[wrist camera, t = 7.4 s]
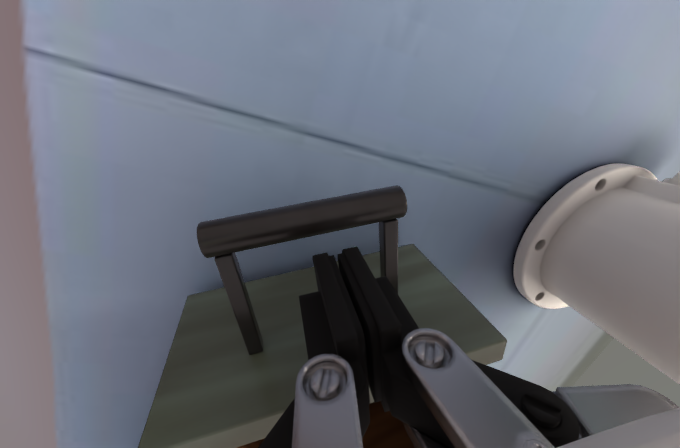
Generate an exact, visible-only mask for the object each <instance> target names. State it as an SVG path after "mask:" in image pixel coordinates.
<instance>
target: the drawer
mask: <svg viewBox="0 0 680 448" xmlns="http://www.w3.org/2000/svg"><path fill="white" fill-rule="evenodd" d="M406 212H407V200H406V196H405V193H404V191H403V189H402V188H401V187H400V186H397V185H396V186H391V187H385V188H380V189H375V190H369V191H364V192H359V193H353V194H348V195H343V196H337V197H332V198H327V199H321V200H316V201H311V202H305V203H300V204H295V205H289V206H284V207H279V208H273V209H268V210H263V211H257V212H252V213H247V214H241V215H236V216H231V217H225V218H220V219H215V220H209V221H204V222H200V223H199V224H198V226H197V239H198V243H199V247H200V250H201V252H202V254H203V255H204V256H205V257H206V258H210V257H215V262H216V265H217V268H218V271H219V273H220V276H221V279H222V282H223V284H224V287H223V288H218V289H214V290H210V291H205V292H201V293H197V294H192V295H189V296H188V297H187V300H186V303H185V306H184V309H183V312H182V315H181V318H180V321H179V324H178V327H177V330H176V333H175V336H174V339H173V343H172V346H171V349H170V352H169V355H168V358H167V361H166V364H165V367H164V370H163V373H162V376H161V379H160V382H159V385H158V388H157V391H156V394H155V397H154V400H153V404H152V407H151V410H150V413H149V416H148V419H147V422H146V425H145V428H144V431H143V434H142V437H141V440H140V443H139V446H138V448H258V447H259V446H260V444H261V443H262V442H263V440H264V439H265V438H266V436H267V435H268V434H269V432H270V431H271V429H272V428H273V427H274V425H275V424H276V423H277V421H278V420H279V419H280V417H281V416H282V414H283V413H284V412H285V410H286V409H287V408H288V406H289V405H290V403H291V402H292V401H293V399H294V398H295V389H296V380H297V375H298V373H299V371H300V369H301V368H302V366H303V365H304V364H305V363H306V362H307V361H308V355H307V348H306V341H305V335H304V328H303V321H302V315H301V308H300V302H299V296H300V295H304V294H308V293H313V292H317V291H318V287H317V281H316V275H315V269H314V267H310V268H305V269H301V270H297V271H292V272H288V273H284V274H279V275H275V276H271V277H266V278H262V279H258V280H253V281H249V282H244V279H243V276H242V272H241V269H240V266H239V263H238V260H237V257H236V253H235V252H239V251H244V250H249V249H253V248H258V247H263V246H268V245H272V244H277V243H282V242H287V241H291V240H296V239H301V238H306V237H310V236H315V235H320V234H325V233H330V232H334V231H339V230H344V229H349V228H353V227H358V226H363V225H368V224H372V223H377V222H379V245H380V251H379V252H375V253H371V254H366V255H362V256H363V258H364V259H365V261H366V263H367V265H368V267H369V268H370V270H371V272H372V274H373V275H374V277H375V278H379V277H383V276H386V277H387V278H388V279H389V281H390V283H391V284H392V286H393V287H394V289H395V291H396V292H397V294H398V295H399V297H400V299H401V300H402V302H403V303H404V305H405V306H406V308H407V310H408V311H409V313H410V314H411V316H412V318H413V319H414V321H415V322H416V324H417V326H418V327H419V329H420V328H430V329H435V330H438V331H440V332H442V333H444V334H446V335H447V336H448V337H450V338H451V339H452V340H453V341H454V342H455V343H456V344H457V345H458V346H459V347H460V348H461V349H462V351H463V352H464V353H465V354H466V355H467V356H468V357H469V358H470V359H471V360H473V361H476V362H479V363H481V364H484V365H487V364H490V363H493V362H496V361H499V360H502V359H503V355H504V351H505V347H506V343H507V340H506V338H505V337H504V336H503V335H502V334H501V333H500V332H499V331H498V330H497V329H496V328H495V327H494V326H493V325H492V324H491V323H490V322H489V321H488V320H487V319H486V318H485V317H484V316H483V315H482V314H481V313H480V312H479V311H478V310H477V309H476V308H475V307H474V305H473V304H472V303H471V302H470V301H469V300H468V299H467V298H466V297H465V296H464V295H463V294H462V293H461V292H460V291H459V290H458V289H457V288H456V287H455V286H454V285H453V284H452V283H451V282H450V281H449V280H448V279H447V278H446V277H445V276H444V275H443V274H442V273H441V272H440V271H439V270H438V269H437V268H436V267H435V266H434V264H433V263H432V262H431V261H430V260H429V259H428V258H427V257H426V256H425V255H424V254H423V253H422V252H421V251H420V250H419V249H418V248H417V247H416V246H415V245H414V244H410V245H405V246H401V247H398V220H397V219H396V218H401V217H404V216H405V215H406ZM336 263H337V265H338V268H339V264H338V261H336ZM369 395H370V404H369V412H370V424H369V426H368V428H367V430H366V432H365V434H364V436H363V439H362V443H363V448H415V447H414V445H413V443H412V441H411V439H410V438H409V436H408V434H407V432H406V430H405V428H404V425H403V423H402V421H401V420H399V419H397V418H395V417H393V416H392V415H391V412H390V411H387V412H384V409H383V407H382V404H381V401H379V402H376V403H375V402H374V399H373V397H372V394H371V391H370V388H369Z"/></svg>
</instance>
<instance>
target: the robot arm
mask: <svg viewBox="0 0 680 448" xmlns="http://www.w3.org/2000/svg"><path fill="white" fill-rule="evenodd" d="M313 263H314V269H315V275H316V281H317V287H318V291H317V292H313V293H308V294H304V295H300V296H299V302H300V308H301V315H302V321H303V328H304V335H305V341H306V348H307V355H308V361H307V362H306V363H305V364H304V365H303V366H302V368H301V369H300V371H299V373H298V375H297V380H296V389H295V398H294V399H293V401H292V402H291V403H290V405H289V406H288V408H287V409H286V410H285V412H284V413H283V414H282V416H281V417H280V419H279V420H278V421H277V423H276V424H275V425H274V427H273V428H272V429H271V431H270V432H269V434H268V435H267V436H266V438H265V439H264V440H263V442H262V443H261V444H260V446H259V447H258V448H363V443H362V439H363V436H364V434H365V432H366V430H367V428H368V426H369V424H370V412H369V404H370V395H369V388H370V391H371V394H372V397H373V399H374V402H375V403H376V402H379V401H381V404H382V407H383V409H384V412H387V411H390V412H391V415H392V416H393V417H395V418H397V419H399V420H401V421H402V423H403V425H404V428H405V430H406V432H407V434H408V436H409V438H410V439H411V441H412V443H413V445H414V447H415V448H680V408H679V407H678V406H677V405H676V404H674V403H673V402H672V401H671V400H670V399H668V398H667V397H665V396H663V395H661V394H660V393H658V392H656V391H654V390H652V389H649V388H646V387H643V386H640V385H631V384H624V385H601V386H578V387H557V389H556V391H555V392H551V391H549V390H547V389H545V388H543V387H541V386H539V385H536V384H534V383H531V382H528V381H526V380H523V379H521V378H518V377H515V376H513V375H510V374H507V373H505V372H502V371H500V370H497V369H494V368H492V367H489V366H486V365H484V364H481V363H479V362H476V361H473V360H471V359H470V358H469V357H468V356H467V355H466V354H465V353H464V352H463V351H462V349H461V348H460V347H459V346H458V345H457V344H456V343H455V342H454V341H453V340H452V339H451V338H450V337H448V336H447V335H446V334H444V333H442V332H440V331H438V330H435V329H430V328H420V329H419V327H418V326H417V324H416V322H415V321H414V319H413V318H412V316H411V314H410V313H409V311H408V310H407V308H406V306H405V305H404V303H403V302H402V300H401V299H400V297H399V295H398V294H397V292H396V291H395V289H394V287H393V286H392V284H391V283H390V281H389V279H388V278H387V277H386V276H383V277H379V278H375V277H374V275H373V274H372V272H371V270H370V268H369V267H368V265H367V263H366V261H365V259H364V258H363V256H362V254H361V252H360V251H359V249H358V247H352V248H347V249H343V250H342V254H338V264H339V268H338V265H337V263H336V260H335V258H334V255H333V256H328V254H327V253H323V254H318V255H313ZM513 275H514V280H515V285H516V287H517V289H518V290H519V292H520V293H521V294H522V295H523V296H524V297H525V298H526V299H528V300H529V301H530V302H532V303H533V304H535V305H536V306H539V307H542V308H549V309H557V308H563V307H568V306H570V307H571V308H573V309H574V310H576V311H577V312H578V313H580V314H581V315H583V316H584V317H585V318H587V319H588V320H590V321H591V322H592V323H594V324H595V325H597V326H598V327H599V328H601V329H602V330H604V331H605V332H606V333H608V334H609V335H611V336H612V337H613V338H615V339H616V340H618V341H619V342H620V343H622V344H623V345H625V346H626V347H628V348H629V349H630V350H632V351H633V352H634V353H636V354H637V355H639V356H640V357H642V358H643V359H644V360H646V361H647V362H649V363H650V364H651V365H653V366H654V367H656V368H657V369H658V370H660V371H661V372H663V373H664V374H665V375H667V376H668V377H670V378H671V379H672V380H674V381H675V382H677V383H678V384H680V171H679V172H678V173H677V174H676V175H675V176H674V177H673V178H666V179H664V180H663V181H662V182H661V181H658V179H657V178H656V177H655V176H654V174H653V173H652V172H650V171H648V170H647V169H645V168H643V167H638V166H634V165H629V164H617V163H613V164H608V165H604V166H600V167H597V168H595V169H593V170H590V171H588V172H586V173H584V174H582V175H580V176H579V177H577V178H575V179H574V180H572V181H571V182H569V183H568V184H567V185H565V186H564V187H563V188H562V189H560V190H559V191H558V192H557V193H555V194H554V195H553V196H552V197H551V198H550V199H549V201H548V202H547V203H546V204H545V205H544V206H543V207H542V208H541V209H540V211H539V212H538V213H537V214H536V216H535V217H534V218H533V220H532V221H531V223H530V224H529V226H528V228H527V229H526V231H525V233H524V234H523V237H522V239H521V241H520V244H519V246H518V248H517V252H516V256H515V260H514V272H513Z"/></svg>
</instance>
